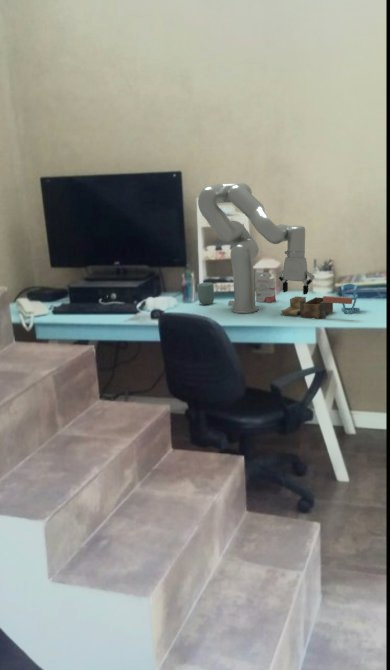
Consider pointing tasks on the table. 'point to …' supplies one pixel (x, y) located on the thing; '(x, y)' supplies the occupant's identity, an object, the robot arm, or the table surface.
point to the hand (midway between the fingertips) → (295, 292)
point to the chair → (354, 296)
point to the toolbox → (315, 308)
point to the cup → (205, 293)
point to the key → (337, 300)
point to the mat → (291, 315)
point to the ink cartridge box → (264, 287)
